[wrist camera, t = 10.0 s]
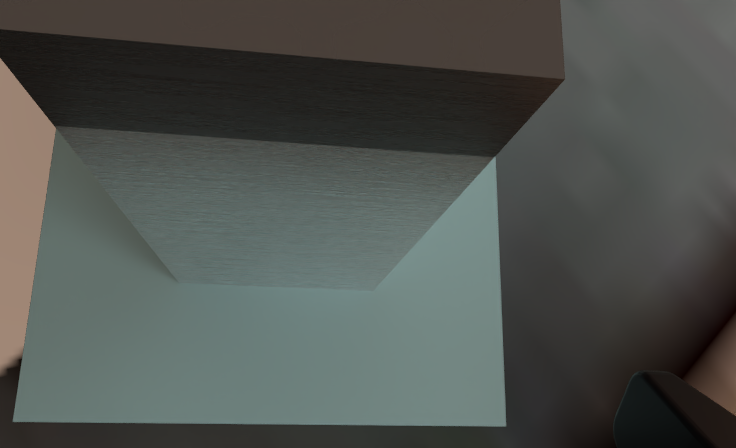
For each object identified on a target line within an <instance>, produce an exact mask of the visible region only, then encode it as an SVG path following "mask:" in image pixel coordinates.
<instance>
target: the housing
mask: <svg viewBox="0 0 736 448" xmlns="http://www.w3.org/2000/svg"><path fill="white" fill-rule="evenodd" d="M0 58H1V59H2V61H3V62H4V63H5V64H6V65H7V67H8V68H9V69H10V71H11V72H12V73H13V74H14V76H15V77H16V78H17V79H18V81H19V82H20V83H21V85H22V86H23V87H24V88H25V90H26V91H27V92H28V93H29V95H30V96H31V97H32V98H33V100H34V101H35V102H36V103H37V105H38V106H39V107H40V108H41V110H42V111H43V112H44V114H45V115H46V116H47V117H48V119H49V120H50V121H51V122H52V124H53V125H54V126H55V127H56V129H57V130H58V131H59V132H60V134H61V135H62V136H63V137H64V139H65V140H66V141H67V143H68V144H69V145H70V146H71V148H72V149H73V150H74V151H75V153H76V154H77V155H78V156H79V158H80V159H81V160H82V161H83V163H84V164H85V165H86V166H87V168H88V169H89V170H90V171H91V173H92V174H93V175H94V177H95V178H96V179H97V180H98V182H99V183H100V184H101V185H102V187H103V188H104V189H105V190H106V192H107V193H108V194H109V195H110V197H111V198H112V199H113V200H114V202H115V203H116V204H117V205H118V207H119V208H120V209H121V211H122V212H123V213H124V214H125V216H126V217H127V218H128V219H129V221H130V222H131V223H132V224H133V226H134V227H135V228H136V229H137V231H138V232H139V233H140V234H141V236H142V237H143V238H144V240H145V241H146V242H147V243H148V245H149V246H150V247H151V248H152V250H153V251H154V252H155V253H156V255H157V256H158V257H159V258H160V260H161V261H162V262H163V263H164V265H165V266H166V267H167V268H168V270H169V271H170V272H171V274H172V275H173V276H174V277H175V279H176V280H177V281H178V282H179V283H194V284H217V285H240V286H262V287H285V288H308V289H331V290H353V291H374V290H375V289H376V288H377V286H378V285H379V284H380V283H381V282H382V281H383V280H384V279H385V278H386V276H387V275H388V274H389V273H390V272H391V271H392V270H393V269H394V268H395V267H396V265H397V264H398V263H399V262H400V261H401V260H402V259H403V258H404V257H405V255H406V254H407V253H408V252H409V251H410V250H411V249H412V248H413V247H414V246H415V244H416V243H417V242H418V241H419V240H420V239H421V238H422V237H423V236H424V234H425V233H426V232H427V231H428V230H429V229H430V228H431V227H432V226H433V225H434V223H435V222H436V221H437V220H438V219H439V218H440V217H441V216H442V215H443V213H444V212H445V211H446V210H447V209H448V208H449V207H450V206H451V205H452V204H453V202H454V201H455V200H456V199H457V198H458V197H459V196H460V195H461V194H462V192H463V191H464V190H465V189H466V188H467V187H468V186H469V185H470V184H471V183H472V181H473V180H474V179H475V178H476V177H477V176H478V175H479V174H480V173H481V171H482V170H483V169H484V168H485V167H486V166H487V165H488V164H489V163H490V162H491V160H492V159H493V158H494V157H495V156H496V155H497V154H498V153H499V152H500V150H501V149H502V148H503V147H504V146H505V145H506V144H507V143H508V142H509V140H510V139H511V138H512V137H513V136H514V135H515V134H516V133H517V132H518V131H519V129H520V128H521V127H522V126H523V125H524V124H525V123H526V122H527V121H528V119H529V118H530V117H531V116H532V115H533V114H534V113H535V112H536V111H537V110H538V108H539V107H540V106H541V105H542V104H543V103H544V102H545V101H546V100H547V98H548V97H549V96H550V95H551V94H552V93H553V92H554V91H555V90H556V89H557V87H558V86H559V85H560V84H561V83H562V82H563V81H564V80H565V72H564V56H563V40H562V24H561V8H560V0H0Z"/></svg>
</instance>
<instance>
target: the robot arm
mask: <svg viewBox="0 0 736 448" xmlns="http://www.w3.org/2000/svg"><path fill="white" fill-rule="evenodd" d="M613 433H614V439H615V443H616V447H617V448H736V416H734V415H733V414H732V413H730V412H729V411H727V410H726V409H724V408H723V407H721V406H720V405H718V404H717V403H715V402H714V401H712V400H711V399H710V398H708V397H707V396H705V395H704V394H702V393H701V392H699V391H698V390H696V389H695V388H693V387H692V386H690V385H689V384H688V383H686V382H685V381H683V380H682V379H680V378H679V377H677V376H676V375H674V374H672V373H670V372H666V371H646V370H642V371H638V372H636V373H635V374H634V375H633V376H632V377H631V379H630V381H629V383H628V386H627V388H626V391H625V393H624V396H623V398H622V401H621V403H620V405H619V408H618V410H617V413H616V415H615V418H614V424H613Z"/></svg>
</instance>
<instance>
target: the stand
mask: <svg viewBox="0 0 736 448" xmlns="http://www.w3.org/2000/svg"><path fill="white" fill-rule="evenodd" d="M13 422H89V423H196V424H302V425H408V426H506V409H505V384H504V359H503V334H502V309H501V283H500V258H499V233H498V208H497V183H496V158H495V157H494V158H493V159H492V160H491V162H490V163H489V164H488V165H487V166H486V167H485V168H484V169H483V170H482V171H481V173H480V174H479V175H478V176H477V177H476V178H475V179H474V180H473V181H472V183H471V184H470V185H469V186H468V187H467V188H466V189H465V190H464V191H463V192H462V194H461V195H460V196H459V197H458V198H457V199H456V200H455V201H454V202H453V204H452V205H451V206H450V207H449V208H448V209H447V210H446V211H445V212H444V213H443V215H442V216H441V217H440V218H439V219H438V220H437V221H436V222H435V223H434V225H433V226H432V227H431V228H430V229H429V230H428V231H427V232H426V233H425V234H424V236H423V237H422V238H421V239H420V240H419V241H418V242H417V243H416V244H415V246H414V247H413V248H412V249H411V250H410V251H409V252H408V253H407V254H406V255H405V257H404V258H403V259H402V260H401V261H400V262H399V263H398V264H397V265H396V267H395V268H394V269H393V270H392V271H391V272H390V273H389V274H388V275H387V276H386V278H385V279H384V280H383V281H382V282H381V283H380V284H379V285H378V286H377V288H376V289H375V290H374V291H353V290H331V289H308V288H285V287H262V286H240V285H217V284H194V283H179V282H178V281H177V280H176V279H175V277H174V276H173V275H172V274H171V272H170V271H169V270H168V268H167V267H166V266H165V265H164V263H163V262H162V261H161V260H160V258H159V257H158V256H157V255H156V253H155V252H154V251H153V250H152V248H151V247H150V246H149V245H148V243H147V242H146V241H145V240H144V238H143V237H142V236H141V234H140V233H139V232H138V231H137V229H136V228H135V227H134V226H133V224H132V223H131V222H130V221H129V219H128V218H127V217H126V216H125V214H124V213H123V212H122V211H121V209H120V208H119V207H118V205H117V204H116V203H115V202H114V200H113V199H112V198H111V197H110V195H109V194H108V193H107V192H106V190H105V189H104V188H103V187H102V185H101V184H100V183H99V182H98V180H97V179H96V178H95V177H94V175H93V174H92V173H91V171H90V170H89V169H88V168H87V166H86V165H85V164H84V163H83V161H82V160H81V159H80V158H79V156H78V155H77V154H76V153H75V151H74V150H73V149H72V148H71V146H70V145H69V144H68V143H67V141H66V140H65V139H64V137H63V136H62V135H61V134H60V132H59V131H58V130H57V129H56V134H55V140H54V147H53V154H52V161H51V167H50V174H49V181H48V188H47V194H46V202H45V208H44V215H43V222H42V228H41V235H40V242H39V248H38V255H37V262H36V269H35V275H34V283H33V289H32V296H31V303H30V309H29V317H28V323H27V330H26V337H25V343H24V350H23V357H22V363H21V370H20V377H19V384H18V390H17V397H16V404H15V411H14V417H13Z"/></svg>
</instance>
